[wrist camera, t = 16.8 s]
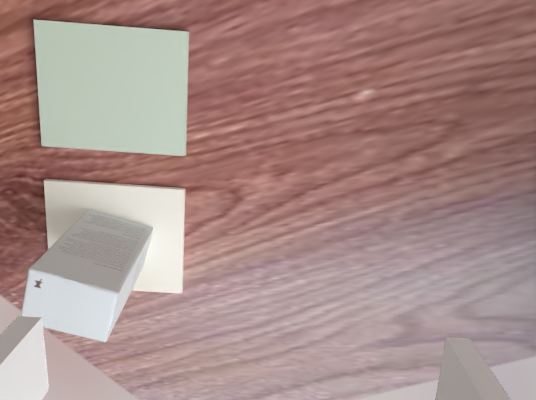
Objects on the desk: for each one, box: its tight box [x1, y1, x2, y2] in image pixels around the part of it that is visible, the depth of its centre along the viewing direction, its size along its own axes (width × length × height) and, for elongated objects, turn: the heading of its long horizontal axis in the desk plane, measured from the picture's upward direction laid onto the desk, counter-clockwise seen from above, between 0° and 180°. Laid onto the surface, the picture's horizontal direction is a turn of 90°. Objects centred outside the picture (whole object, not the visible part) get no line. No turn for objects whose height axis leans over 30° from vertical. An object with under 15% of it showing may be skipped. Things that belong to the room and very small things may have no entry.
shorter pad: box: [33, 20, 189, 156], centre depth 40 cm, size 12×10×1 cm
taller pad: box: [44, 179, 185, 293], centre depth 44 cm, size 12×10×1 cm
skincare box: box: [21, 210, 153, 342], centre depth 38 cm, size 6×4×12 cm
